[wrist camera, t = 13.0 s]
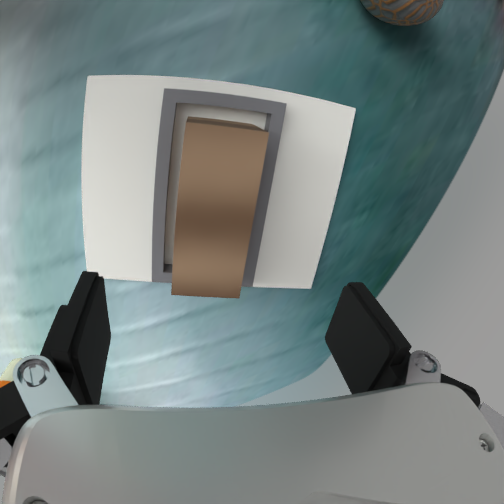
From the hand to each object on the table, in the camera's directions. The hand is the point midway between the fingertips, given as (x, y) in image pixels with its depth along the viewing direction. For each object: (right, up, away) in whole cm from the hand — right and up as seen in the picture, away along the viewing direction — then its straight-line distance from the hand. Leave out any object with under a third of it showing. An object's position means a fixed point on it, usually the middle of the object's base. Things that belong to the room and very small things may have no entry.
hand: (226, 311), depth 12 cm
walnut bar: (-2, +7, +14) cm, 16 cm away
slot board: (-2, +8, +15) cm, 17 cm away
